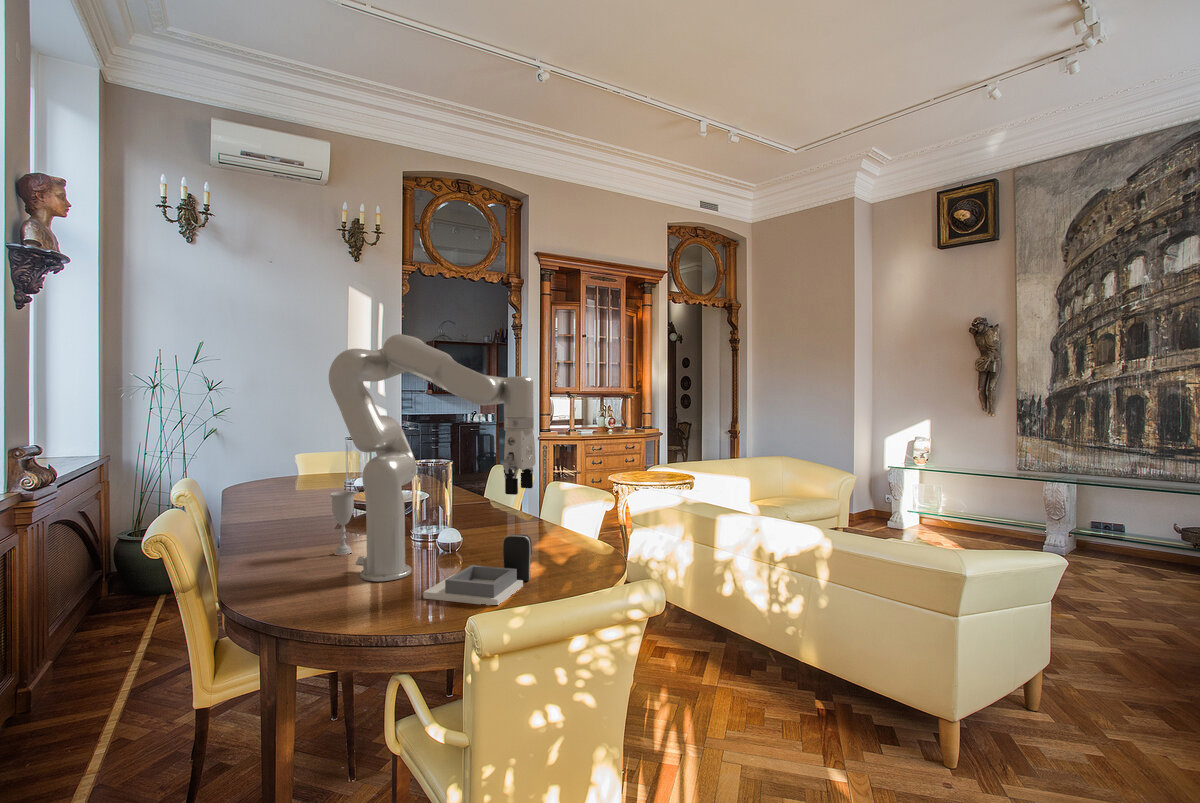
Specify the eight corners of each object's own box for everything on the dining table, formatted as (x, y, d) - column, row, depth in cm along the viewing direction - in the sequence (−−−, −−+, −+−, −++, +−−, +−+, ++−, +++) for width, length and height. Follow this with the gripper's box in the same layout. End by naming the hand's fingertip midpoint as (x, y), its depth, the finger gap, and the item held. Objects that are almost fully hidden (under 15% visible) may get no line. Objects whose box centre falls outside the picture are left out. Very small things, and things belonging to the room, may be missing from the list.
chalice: (361, 552, 178) (360, 492, 178) (340, 558, 173) (339, 496, 172) (346, 549, 182) (345, 490, 182) (325, 554, 177) (324, 493, 176)
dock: (423, 598, 139) (423, 579, 139) (454, 579, 153) (454, 562, 152) (497, 606, 134) (497, 586, 134) (522, 586, 147) (522, 568, 147)
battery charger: (533, 577, 154) (533, 533, 154) (529, 582, 151) (529, 537, 150) (507, 576, 155) (507, 532, 155) (502, 580, 152) (502, 536, 151)
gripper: (519, 426, 144) (519, 497, 144) (544, 422, 160) (545, 486, 161) (490, 426, 146) (491, 496, 146) (518, 422, 162) (519, 485, 163)
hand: (519, 491), depth 153 cm, fingers open, 9 cm apart
